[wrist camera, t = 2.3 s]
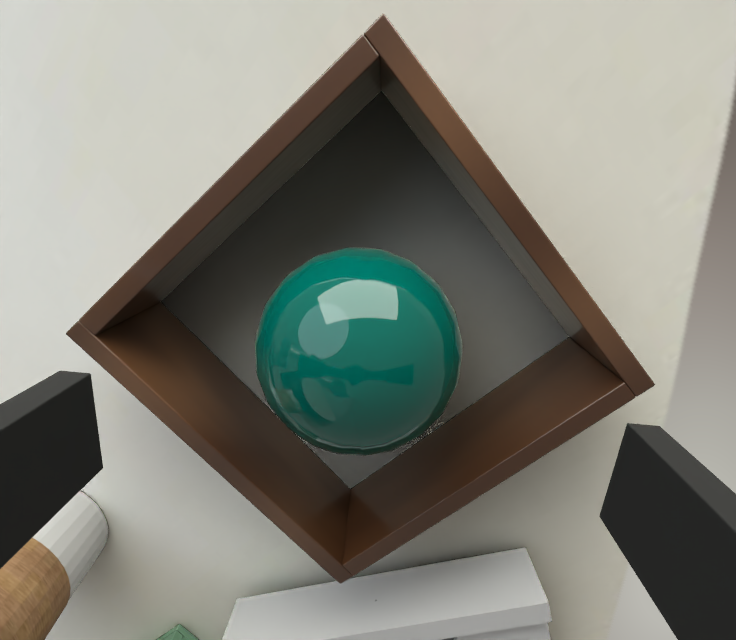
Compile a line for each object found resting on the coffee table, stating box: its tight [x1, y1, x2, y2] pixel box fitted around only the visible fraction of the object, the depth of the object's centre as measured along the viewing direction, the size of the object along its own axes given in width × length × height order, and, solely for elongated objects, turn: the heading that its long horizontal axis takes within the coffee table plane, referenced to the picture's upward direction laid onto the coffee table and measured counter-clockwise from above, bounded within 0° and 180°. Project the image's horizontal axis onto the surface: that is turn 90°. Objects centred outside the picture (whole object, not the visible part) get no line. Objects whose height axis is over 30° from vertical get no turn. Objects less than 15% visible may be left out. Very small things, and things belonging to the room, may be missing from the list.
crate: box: [66, 14, 655, 584], centre depth 18 cm, size 16×16×5 cm
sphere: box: [255, 247, 463, 456], centre depth 17 cm, size 8×8×8 cm
